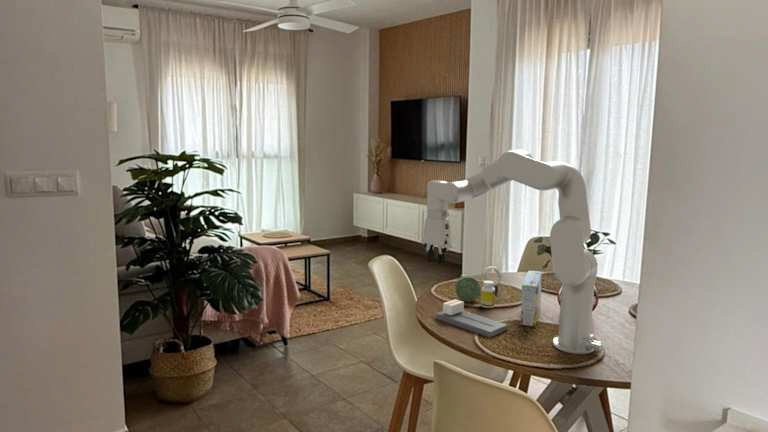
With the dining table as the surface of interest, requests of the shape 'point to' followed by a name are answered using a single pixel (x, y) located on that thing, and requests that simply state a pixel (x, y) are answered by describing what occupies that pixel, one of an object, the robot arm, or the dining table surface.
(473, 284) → the decorative artifact
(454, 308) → the fader knob
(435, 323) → the dining table surface
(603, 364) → the dining table surface
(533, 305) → the snack box
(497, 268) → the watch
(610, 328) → the dining table surface
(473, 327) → the grey slider track base
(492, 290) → the supplement bottle
